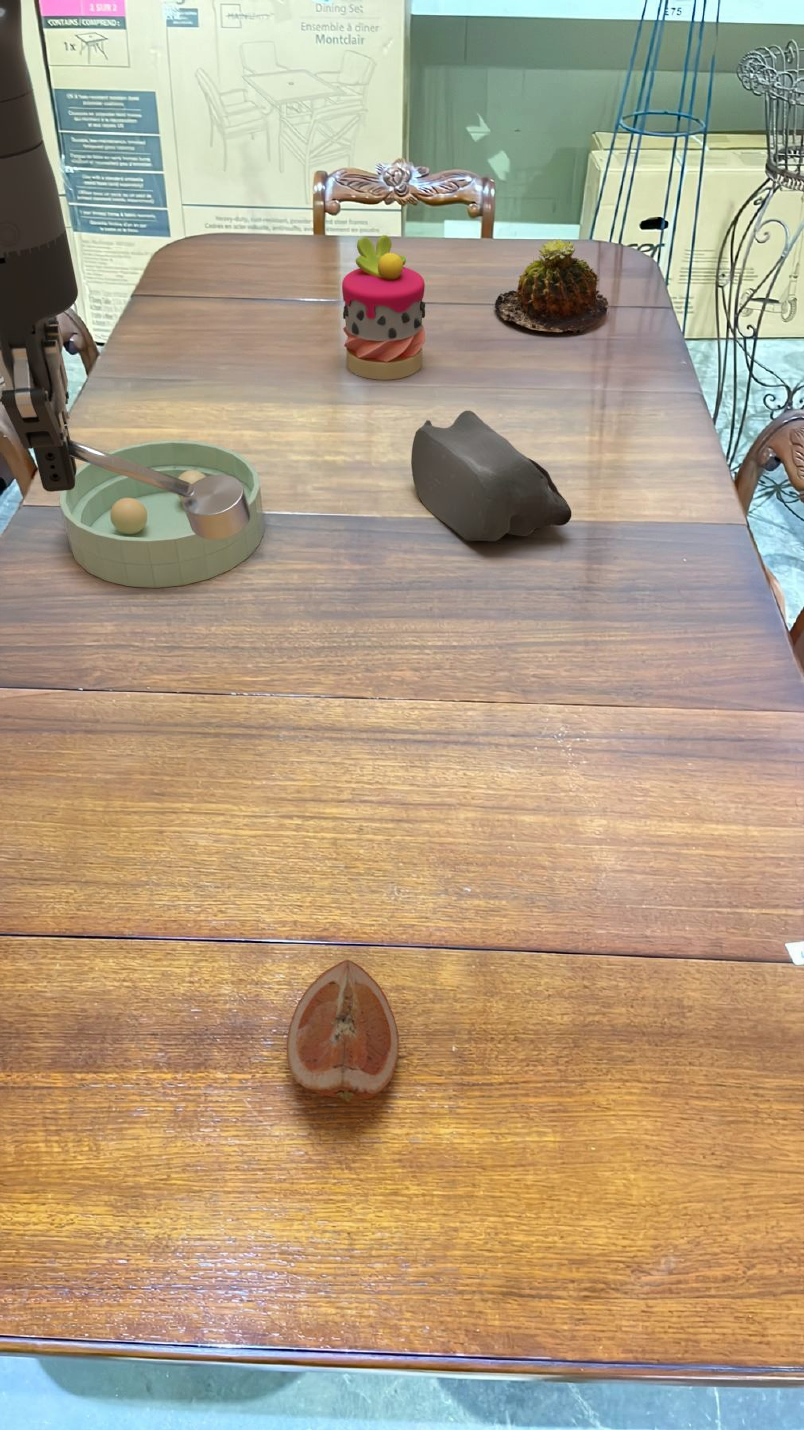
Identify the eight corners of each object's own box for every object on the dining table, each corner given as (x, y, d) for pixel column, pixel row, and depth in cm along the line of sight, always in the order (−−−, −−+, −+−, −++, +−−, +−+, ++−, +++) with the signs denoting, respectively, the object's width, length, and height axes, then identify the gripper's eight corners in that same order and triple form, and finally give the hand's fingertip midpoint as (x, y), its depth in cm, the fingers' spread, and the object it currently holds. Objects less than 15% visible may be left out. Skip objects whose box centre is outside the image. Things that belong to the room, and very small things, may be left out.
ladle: (251, 494, 82) (216, 377, 74) (251, 534, 79) (215, 417, 71) (76, 522, 83) (23, 408, 75) (70, 562, 80) (14, 449, 72)
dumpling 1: (159, 514, 109) (132, 511, 111) (141, 491, 106) (113, 488, 108) (144, 543, 108) (116, 539, 109) (125, 520, 105) (97, 517, 106)
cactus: (493, 289, 160) (497, 220, 154) (600, 291, 160) (609, 222, 153) (495, 336, 147) (500, 262, 141) (613, 338, 147) (623, 265, 140)
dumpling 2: (215, 501, 111) (214, 498, 114) (204, 467, 110) (204, 464, 113) (181, 511, 111) (181, 507, 114) (170, 477, 109) (170, 474, 113)
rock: (584, 537, 110) (593, 467, 104) (490, 568, 106) (495, 496, 100) (486, 460, 122) (490, 394, 117) (399, 485, 118) (399, 418, 112)
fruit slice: (397, 1129, 63) (397, 1085, 59) (281, 1127, 63) (275, 1082, 59) (400, 1004, 69) (400, 958, 66) (295, 1002, 69) (289, 956, 66)
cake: (441, 362, 141) (444, 243, 131) (384, 388, 135) (383, 266, 125) (383, 340, 146) (382, 224, 136) (327, 364, 141) (321, 245, 131)
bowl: (66, 603, 101) (52, 549, 97) (77, 499, 115) (66, 447, 111) (271, 584, 104) (266, 530, 100) (257, 484, 118) (252, 433, 114)
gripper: (-50, 195, 69) (15, 442, 81) (-83, 270, 59) (-4, 539, 71) (70, 189, 70) (117, 433, 82) (57, 262, 60) (112, 528, 72)
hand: (60, 482), depth 76 cm, fingers closed on ladle, 1 cm apart
